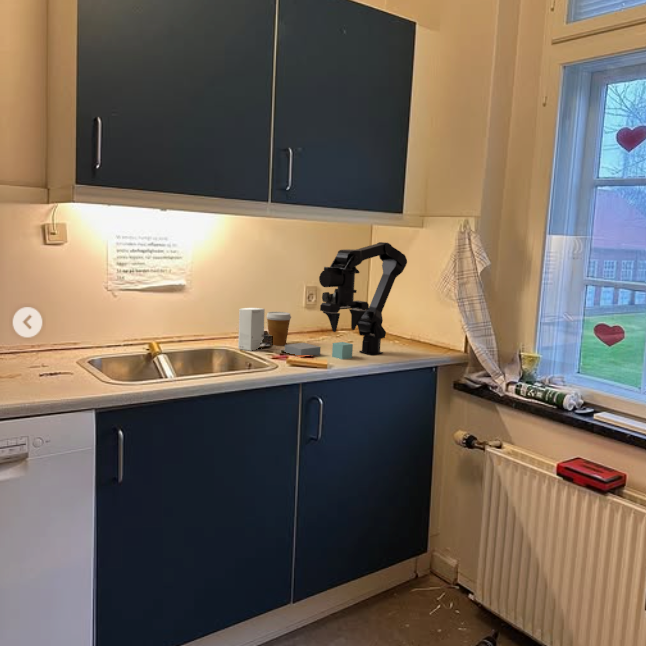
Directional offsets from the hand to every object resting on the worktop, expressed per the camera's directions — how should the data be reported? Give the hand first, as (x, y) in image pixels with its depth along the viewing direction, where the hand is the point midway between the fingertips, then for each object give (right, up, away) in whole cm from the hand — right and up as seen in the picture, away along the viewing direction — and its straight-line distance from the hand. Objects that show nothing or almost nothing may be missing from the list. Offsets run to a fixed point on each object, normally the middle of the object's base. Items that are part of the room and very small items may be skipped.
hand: (343, 330), depth 220 cm
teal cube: (-1, -9, +1) cm, 10 cm away
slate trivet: (-15, -8, +3) cm, 17 cm away
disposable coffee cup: (-25, -6, +20) cm, 32 cm away
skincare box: (-34, -7, +9) cm, 35 cm away
